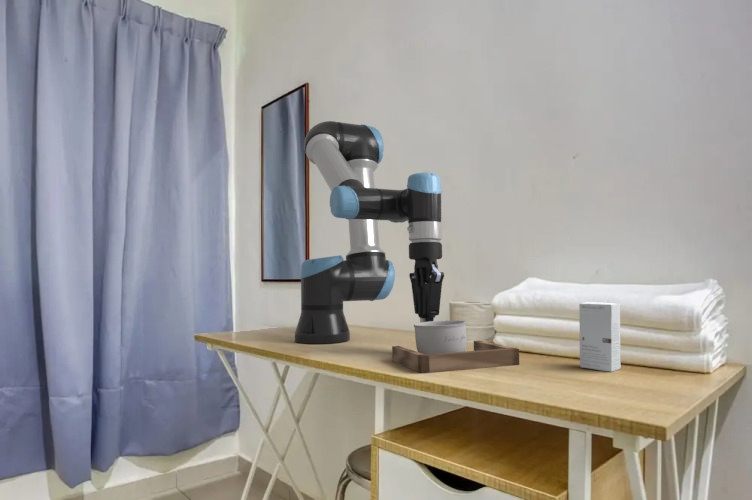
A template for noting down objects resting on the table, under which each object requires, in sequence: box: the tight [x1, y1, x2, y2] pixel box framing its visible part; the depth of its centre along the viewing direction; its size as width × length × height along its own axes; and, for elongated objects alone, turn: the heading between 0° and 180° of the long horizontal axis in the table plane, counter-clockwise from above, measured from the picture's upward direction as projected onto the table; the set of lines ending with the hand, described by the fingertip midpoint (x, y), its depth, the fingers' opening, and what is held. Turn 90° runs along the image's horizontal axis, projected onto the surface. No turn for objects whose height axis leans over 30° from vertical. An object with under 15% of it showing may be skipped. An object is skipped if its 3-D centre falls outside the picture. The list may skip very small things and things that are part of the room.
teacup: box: [413, 319, 468, 355], centre depth 102 cm, size 14×11×8 cm
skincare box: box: [578, 301, 622, 372], centre depth 90 cm, size 6×4×12 cm
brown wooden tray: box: [391, 340, 520, 374], centre depth 98 cm, size 14×21×3 cm, turn 111°
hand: (427, 346), depth 109 cm, fingers closed
